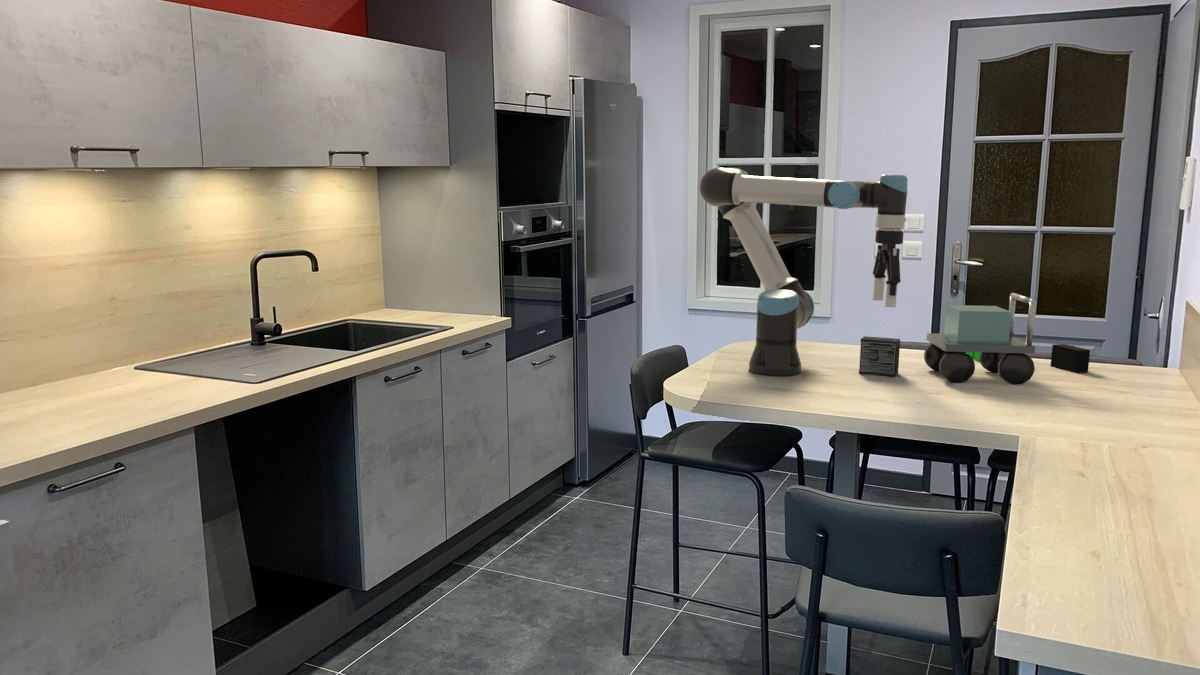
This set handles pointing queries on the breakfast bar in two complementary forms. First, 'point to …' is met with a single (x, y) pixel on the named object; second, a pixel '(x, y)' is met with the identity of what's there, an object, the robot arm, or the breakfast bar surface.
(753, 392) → the breakfast bar surface
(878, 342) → the small box
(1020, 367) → the trolley
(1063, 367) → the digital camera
